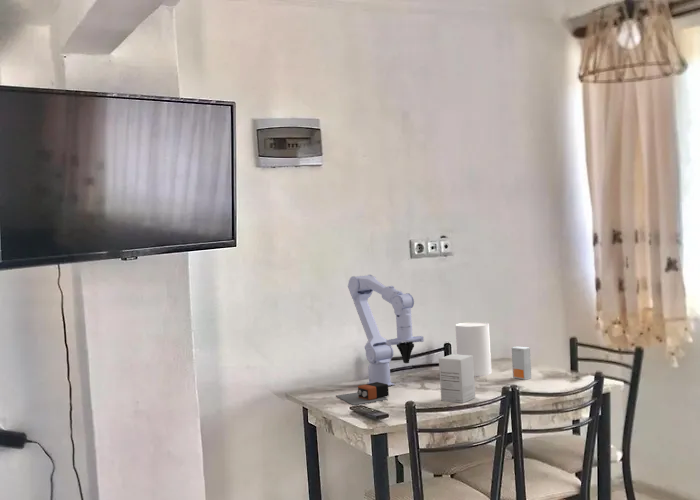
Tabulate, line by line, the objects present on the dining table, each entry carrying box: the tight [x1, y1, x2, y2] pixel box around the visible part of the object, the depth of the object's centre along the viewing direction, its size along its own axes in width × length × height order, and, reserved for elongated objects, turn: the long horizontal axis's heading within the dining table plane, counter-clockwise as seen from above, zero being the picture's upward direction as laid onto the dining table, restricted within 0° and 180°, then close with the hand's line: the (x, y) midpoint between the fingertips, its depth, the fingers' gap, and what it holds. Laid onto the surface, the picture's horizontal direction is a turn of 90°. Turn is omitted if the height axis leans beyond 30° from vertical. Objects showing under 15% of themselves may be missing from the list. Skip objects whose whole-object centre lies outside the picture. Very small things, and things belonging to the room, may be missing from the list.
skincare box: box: [511, 345, 532, 381], centre depth 281 cm, size 6×4×12 cm
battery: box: [356, 382, 389, 400], centre depth 261 cm, size 4×7×10 cm
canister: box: [455, 321, 492, 377], centre depth 296 cm, size 14×14×20 cm
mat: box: [335, 392, 388, 406], centre depth 261 cm, size 17×13×1 cm
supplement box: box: [438, 353, 476, 404], centre depth 251 cm, size 9×9×15 cm
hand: (406, 362), depth 270 cm, fingers closed
